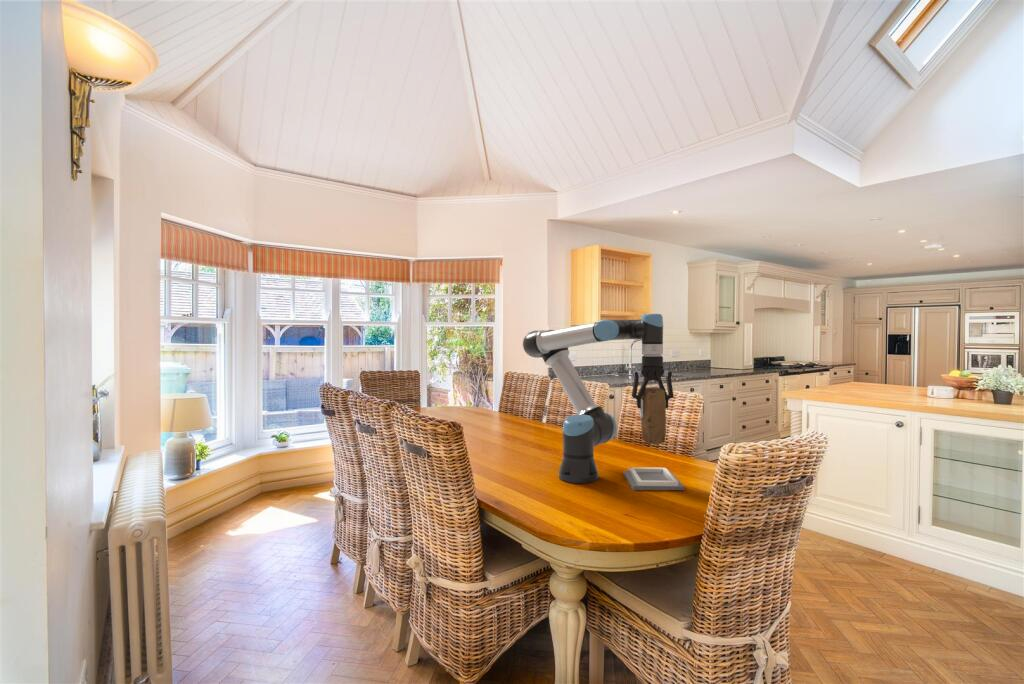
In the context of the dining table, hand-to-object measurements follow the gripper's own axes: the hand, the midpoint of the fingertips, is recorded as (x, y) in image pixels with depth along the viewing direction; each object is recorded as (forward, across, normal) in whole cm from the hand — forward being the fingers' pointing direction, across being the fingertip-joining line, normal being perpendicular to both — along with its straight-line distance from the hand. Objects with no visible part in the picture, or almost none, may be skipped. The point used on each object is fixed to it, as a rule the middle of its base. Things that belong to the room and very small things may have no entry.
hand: (652, 417), depth 174 cm
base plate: (+25, 0, 0) cm, 25 cm away
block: (+9, 0, 0) cm, 9 cm away
